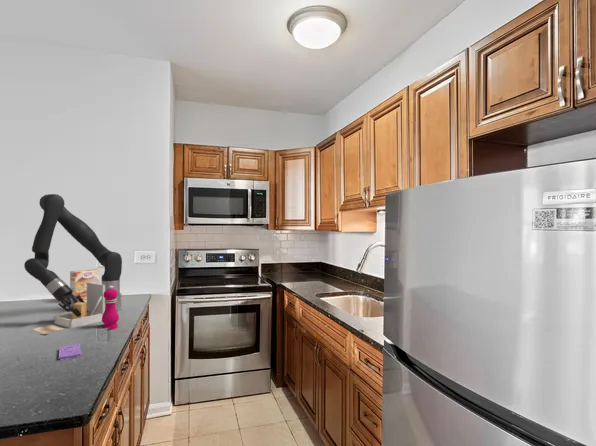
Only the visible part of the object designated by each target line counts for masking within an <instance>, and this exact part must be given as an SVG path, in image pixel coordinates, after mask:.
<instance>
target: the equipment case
mask: <svg viewBox="0 0 596 446" xmlns="http://www.w3.org/2000/svg"><path fill="white" fill-rule="evenodd" d="M104 292H105V285H102V283H99V284H96V283H87V302H86V303H87V310H88V313H87V317H82V318H77V319H72V312H67V313H65V314H58V315H55V316H54V317H53V318H54V323H53V325H56V326H60V327H63V328H68V329H73V328H76V327H82V326H85V325H89V324H93V323H94V324H95V323H99V322H102V316H103V313H104V311H105V298H104V296H103V294H104Z"/></svg>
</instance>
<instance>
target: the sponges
mask: <svg viewBox="0 0 596 446" xmlns="http://www.w3.org/2000/svg"><path fill="white" fill-rule="evenodd" d="M58 350H59V351H58V360H59V359H64V360H67V359H66V358H70V359H73V358H72V357H76V358H78V357H77V356H81V357H82V351H81V343H76V344H72V345H71V344H70V345H65V346H59V349H58Z"/></svg>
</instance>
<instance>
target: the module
mask: <svg viewBox="0 0 596 446" xmlns="http://www.w3.org/2000/svg"><path fill="white" fill-rule="evenodd" d="M74 306H75V307H76V309H77V310H78V311H79V312H80V313H81V315H80V316H79V317H77V316H76V315H75V314H74V313H73V312H71V313H72V319H77V318H82V317H87V302H85V303H82V302H80V303H75V304H74Z"/></svg>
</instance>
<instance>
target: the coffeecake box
mask: <svg viewBox="0 0 596 446" xmlns="http://www.w3.org/2000/svg"><path fill="white" fill-rule="evenodd" d="M87 283H96V284H100V269H98V268H97V269H96V268H94V269H93V268H92V269H91V268H90V269H80V270H70V271H69V287H70V288H71V289H72V290H73V292H72V294H73V295H74V296H78V295H80V297H81V298H82V299H83V301H84V302H85V303H87Z"/></svg>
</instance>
